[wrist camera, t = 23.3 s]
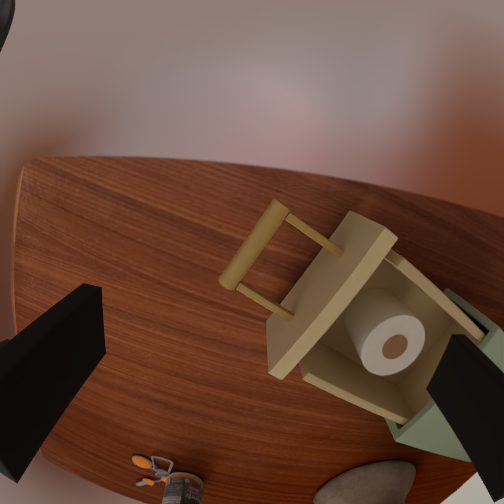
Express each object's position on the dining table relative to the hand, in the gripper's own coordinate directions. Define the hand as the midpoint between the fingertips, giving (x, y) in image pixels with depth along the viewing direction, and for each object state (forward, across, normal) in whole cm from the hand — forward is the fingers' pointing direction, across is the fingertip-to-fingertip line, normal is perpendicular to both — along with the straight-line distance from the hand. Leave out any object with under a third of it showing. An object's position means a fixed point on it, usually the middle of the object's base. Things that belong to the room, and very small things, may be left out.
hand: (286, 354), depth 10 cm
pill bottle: (+17, -6, -39) cm, 43 cm away
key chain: (+17, -11, -39) cm, 44 cm away
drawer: (+16, +9, -4) cm, 19 cm away
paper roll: (+15, +10, -5) cm, 19 cm away
